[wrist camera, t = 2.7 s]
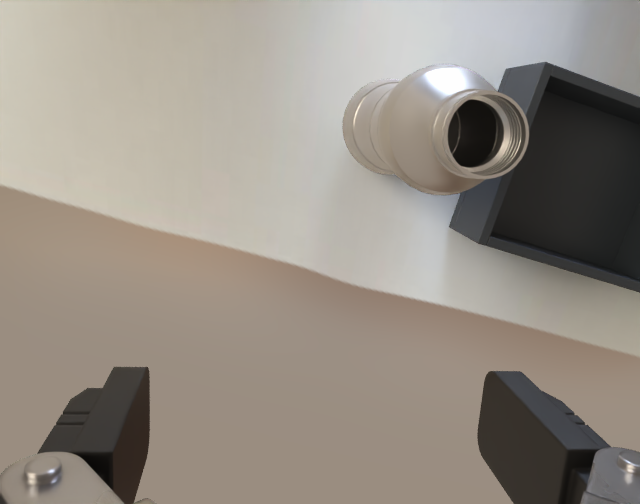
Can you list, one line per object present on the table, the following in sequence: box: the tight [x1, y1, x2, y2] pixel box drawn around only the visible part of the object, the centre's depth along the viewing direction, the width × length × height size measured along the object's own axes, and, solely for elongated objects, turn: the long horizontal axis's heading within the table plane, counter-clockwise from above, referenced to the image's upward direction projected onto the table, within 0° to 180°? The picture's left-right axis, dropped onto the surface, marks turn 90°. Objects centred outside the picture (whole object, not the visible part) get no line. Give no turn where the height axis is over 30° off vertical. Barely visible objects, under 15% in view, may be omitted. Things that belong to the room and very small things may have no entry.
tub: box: [449, 62, 640, 292], centre depth 43 cm, size 14×12×6 cm
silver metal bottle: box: [343, 64, 529, 195], centre depth 34 cm, size 6×7×20 cm
